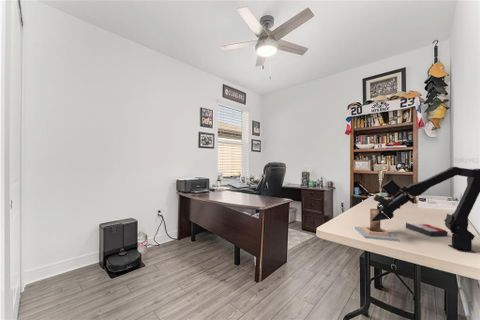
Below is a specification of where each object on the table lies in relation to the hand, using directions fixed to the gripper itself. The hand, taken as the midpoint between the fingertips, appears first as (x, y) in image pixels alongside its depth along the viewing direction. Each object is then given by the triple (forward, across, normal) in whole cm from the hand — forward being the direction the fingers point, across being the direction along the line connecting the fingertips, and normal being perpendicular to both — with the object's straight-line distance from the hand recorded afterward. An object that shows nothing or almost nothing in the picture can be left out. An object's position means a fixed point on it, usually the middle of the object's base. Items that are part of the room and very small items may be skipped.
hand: (372, 218), depth 112 cm
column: (+4, 0, +6) cm, 8 cm away
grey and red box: (-13, -24, +26) cm, 38 cm away
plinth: (+5, 0, +7) cm, 9 cm away
